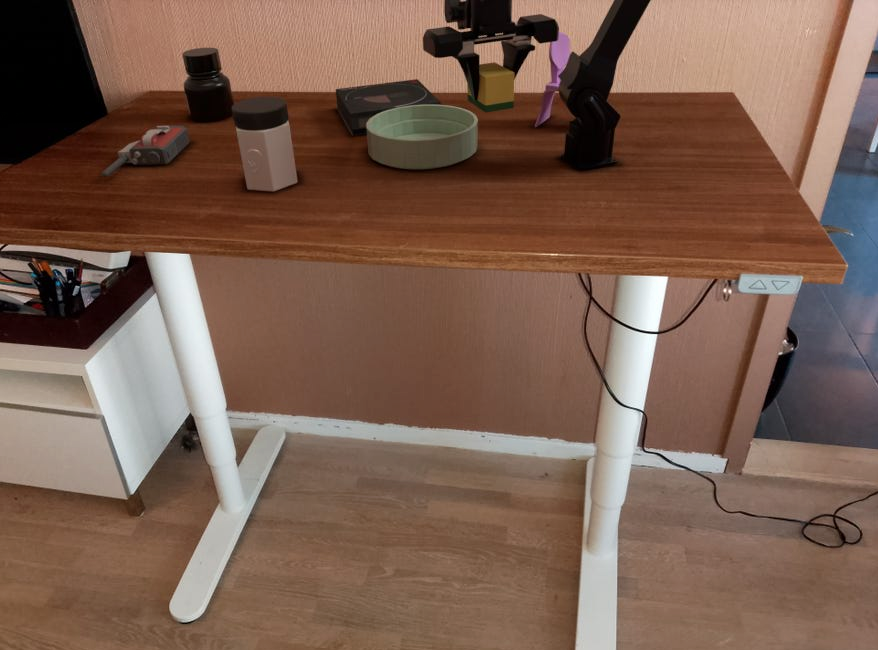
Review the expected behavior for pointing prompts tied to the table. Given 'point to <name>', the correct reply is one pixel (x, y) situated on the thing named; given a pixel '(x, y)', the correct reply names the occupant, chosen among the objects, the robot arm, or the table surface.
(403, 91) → the portable cd player
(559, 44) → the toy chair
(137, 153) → the walkie-talkie
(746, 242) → the table surface
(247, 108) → the jar
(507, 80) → the sponge
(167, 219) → the table surface
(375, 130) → the bowl
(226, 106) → the ink bottle
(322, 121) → the table surface
